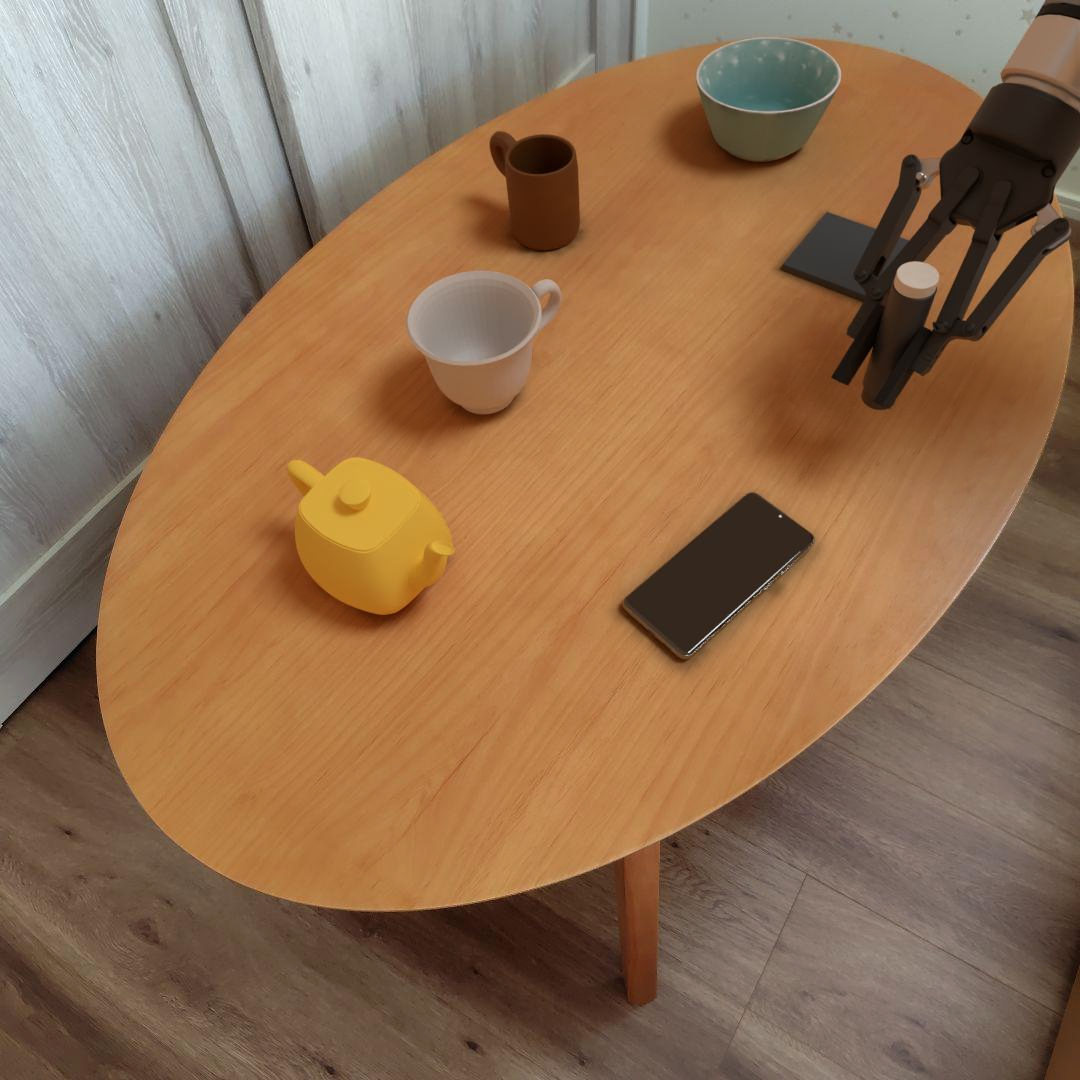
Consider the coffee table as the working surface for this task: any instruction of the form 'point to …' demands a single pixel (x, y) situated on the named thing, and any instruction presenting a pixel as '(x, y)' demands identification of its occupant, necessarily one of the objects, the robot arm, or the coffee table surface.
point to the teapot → (368, 534)
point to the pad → (835, 254)
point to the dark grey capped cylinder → (899, 324)
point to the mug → (539, 188)
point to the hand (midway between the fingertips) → (860, 392)
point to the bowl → (766, 95)
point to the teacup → (480, 334)
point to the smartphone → (718, 574)
